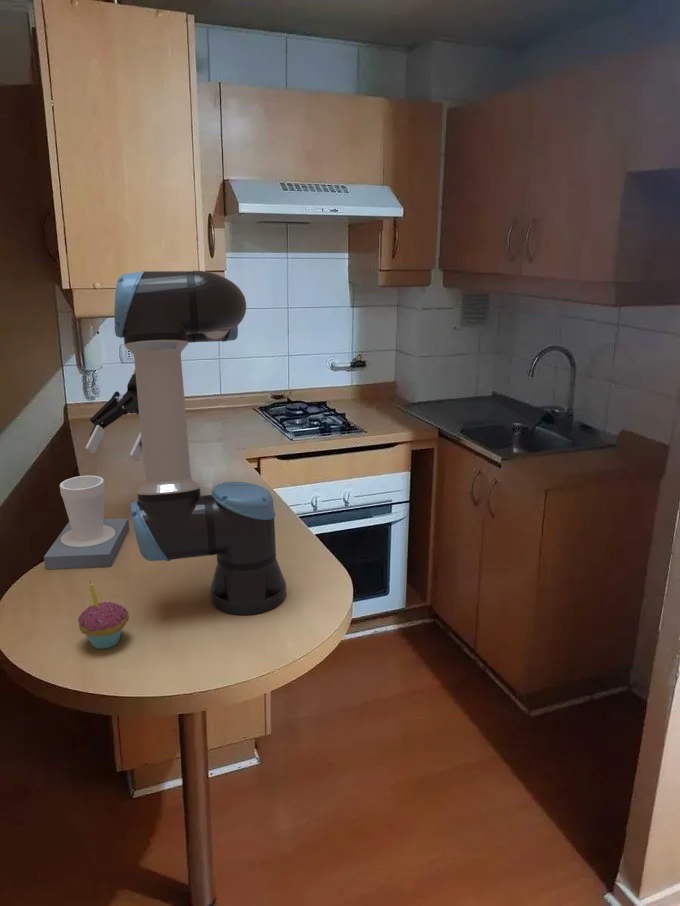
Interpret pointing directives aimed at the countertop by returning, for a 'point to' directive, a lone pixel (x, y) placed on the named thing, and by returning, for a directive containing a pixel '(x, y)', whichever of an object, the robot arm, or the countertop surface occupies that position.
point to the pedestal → (87, 547)
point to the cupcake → (103, 622)
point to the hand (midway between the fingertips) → (111, 454)
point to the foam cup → (84, 505)
